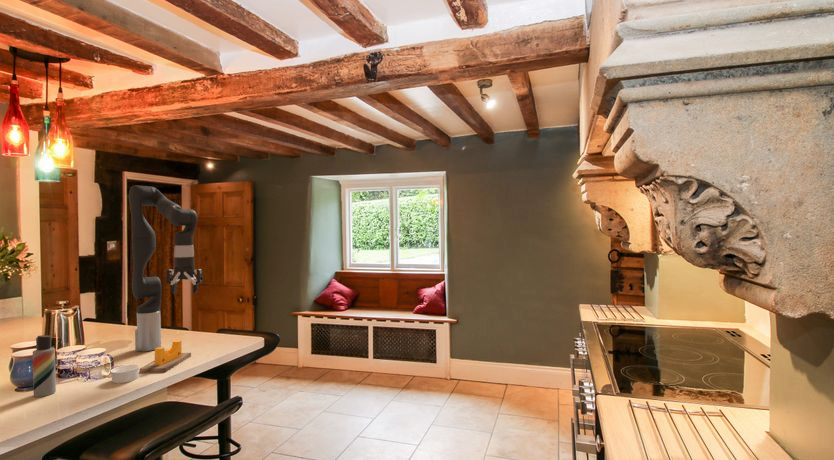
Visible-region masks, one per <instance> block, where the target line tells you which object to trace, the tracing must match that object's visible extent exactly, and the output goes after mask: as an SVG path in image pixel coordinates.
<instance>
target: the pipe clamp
mask: <svg viewBox="0 0 834 460" xmlns="http://www.w3.org/2000/svg"><path fill="white" fill-rule="evenodd" d="M181 353H182V340H174V341H172V344H171V348H169V349H166V350H165V347H162V346H161V347H158V348H155V350H154V361H155V365H162V364H165V363H167V362H169V361H171V360H174V359H176V358H178V357H180V356H181Z"/></svg>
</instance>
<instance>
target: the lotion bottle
mask: <svg viewBox="0 0 834 460" xmlns="http://www.w3.org/2000/svg"><path fill="white" fill-rule="evenodd" d="M35 343H36V346H35V347H36V349H35V350H33V351H32V380H33V381H32V386H33V396H34V397H35V398H42V397H47V396H51V395H53V394H55V393H56V389H57V385H56V383H57V382H56V381H57V380H56V349H55V347H52V336H51V335H49V334H48V335H47V334H43V335H37V337H36V338H35Z"/></svg>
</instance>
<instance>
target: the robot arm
mask: <svg viewBox="0 0 834 460" xmlns="http://www.w3.org/2000/svg"><path fill="white" fill-rule="evenodd" d="M128 203H129V210H130V218H131V249H132V250H131V252H132V276H131V277H132V278H131V280H132V281H131V290H132V291H131V292H132V295H133V297H134V298H135V299H142V298H143V299H144V298H148V299H147V301H145V302H144V303H142V304H140V305H138V306H137V307H136V329H135V330H134V343H135V347H134V348H135V351H136V352H137V351H138V352H150V351H155V348H158V347H162V329H161V328H162V324H161V323H162V320H161V306H162V281H161V279H160V277H158V276H145V277H144V273H145V268H146V265H147V263H149V261H150V260H151V258H152V256H153V255H154V254H155V251H156V248H157V246H156V245H157V244H156V243H157V242H156V241H157V240H156V233H155V231H154V229H153V228H152V225H150V224H149V222H148V221H147V219H146V218H145V216H144V212H143V207H151V206H152V207H156V210H157V212H158V213H159V214H160V215H162V216H163V217H165V218H167V220H168V221H169V223H170V224H172V225H173V226H176V227H178V226H182V227H183V226H184V228H183V230H179V231H177V232H175V233H174V250H173V256H174V257H173V261H174V263H173V264H174V265H173V266H174V269H172V268H171V269H170V268H169V269H167V270H166V279H165V282H166V284H167V285H170V287H171V291H170V292H171V293H172V295H176V294H178V284H177V283H178V282H179V281H180V280H181V281H183V280H185V281H186V280H188V281H189V282H191V283H192V294H197V293H199V284H202V283H203V282H204V280H203V269H202V268H199V269H198V268H197V269H195V248H194V235H195V231H196V226H197V223H198V220H199V219H198V213H197V212H196V211H195V210H194V209H190V208H189V209H183V208H182V207H181V205H179V204H177V203H176V202H173V201H172V200H170V199H168V197H166V196H165V195H164V194H163V193H162V192H161V191H160V190H159V189H157V187H154V186H148V185H134V184H133V185H132V186H130V188H129V191H128ZM194 274H195V275H196V276H195V275H194ZM174 275H175V276H174ZM173 276H174V278H173Z"/></svg>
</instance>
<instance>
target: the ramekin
mask: <svg viewBox="0 0 834 460" xmlns="http://www.w3.org/2000/svg"><path fill="white" fill-rule="evenodd" d="M139 369H140V365H139V364H134V363H133V364H126V365H121V366H116V367H114V368H112V369H111V370H110V374H111V375H110V376H111V381H112V383H113V384H126V383H130V382H133V381H135V380H137V379H138V378H139V373H140V371H139Z"/></svg>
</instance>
